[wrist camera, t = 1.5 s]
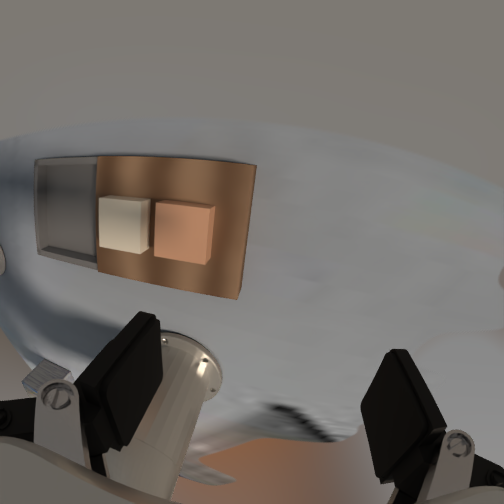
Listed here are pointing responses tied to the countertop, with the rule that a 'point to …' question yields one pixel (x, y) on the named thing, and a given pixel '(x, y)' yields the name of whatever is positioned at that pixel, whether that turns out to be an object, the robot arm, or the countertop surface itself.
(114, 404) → the robot arm
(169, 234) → the terracotta tile
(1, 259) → the bath foam
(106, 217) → the cream tile
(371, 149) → the countertop surface
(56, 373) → the medicine box
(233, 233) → the walnut board
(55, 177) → the tray
